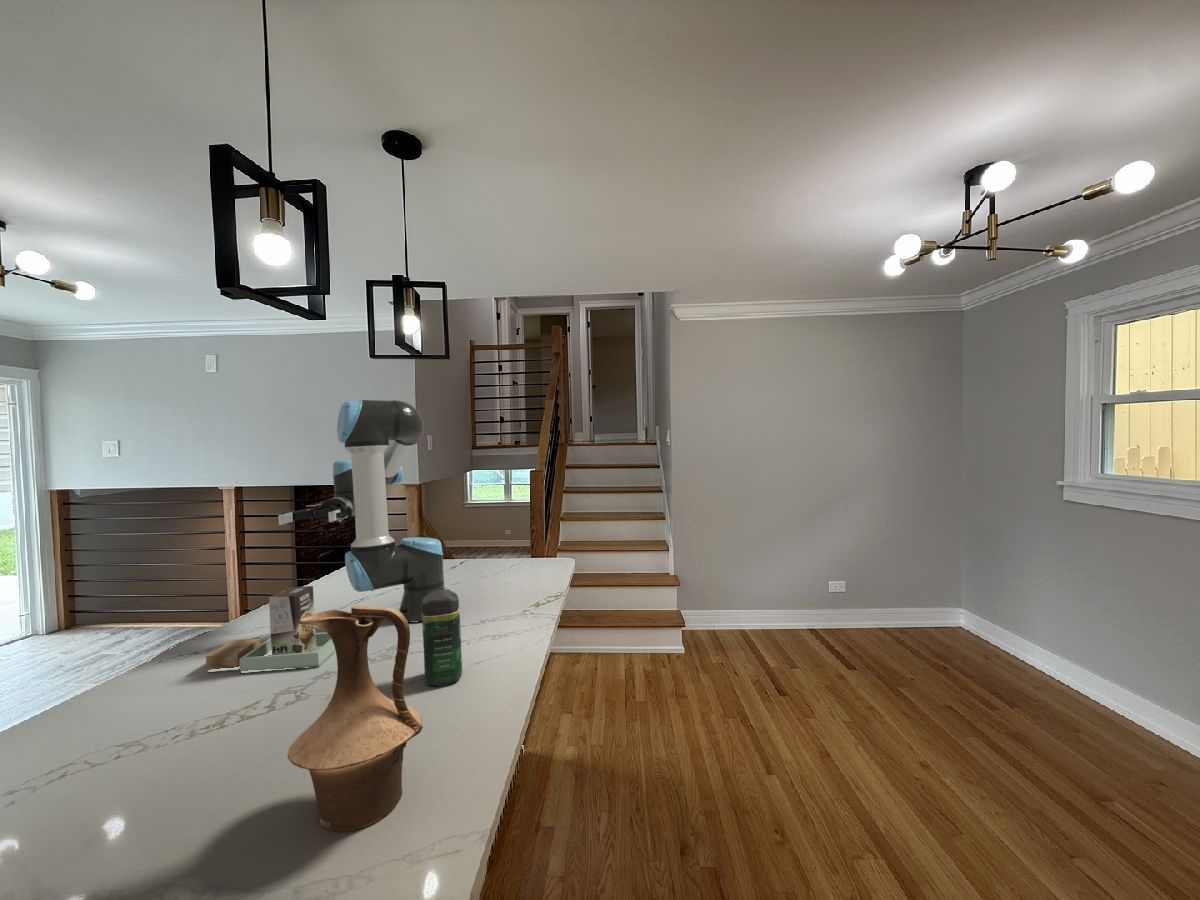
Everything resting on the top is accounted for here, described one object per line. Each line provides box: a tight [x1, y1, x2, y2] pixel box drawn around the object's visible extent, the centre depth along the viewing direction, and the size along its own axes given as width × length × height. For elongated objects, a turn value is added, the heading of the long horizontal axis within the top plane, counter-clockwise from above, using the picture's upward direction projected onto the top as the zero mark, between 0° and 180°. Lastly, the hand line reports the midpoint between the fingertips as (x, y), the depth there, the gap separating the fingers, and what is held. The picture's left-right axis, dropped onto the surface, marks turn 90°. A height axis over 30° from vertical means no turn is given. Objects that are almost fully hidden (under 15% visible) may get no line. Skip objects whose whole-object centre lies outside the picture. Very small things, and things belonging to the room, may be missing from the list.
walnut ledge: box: [205, 638, 262, 671], centre depth 131 cm, size 7×10×4 cm
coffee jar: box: [421, 588, 463, 687], centre depth 117 cm, size 10×8×19 cm
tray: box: [239, 631, 336, 672], centre depth 132 cm, size 18×15×4 cm
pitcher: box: [287, 605, 424, 832], centre depth 76 cm, size 18×17×28 cm
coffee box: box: [268, 585, 317, 655], centre depth 132 cm, size 9×6×16 cm
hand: (305, 518), depth 152 cm, fingers open, 13 cm apart
